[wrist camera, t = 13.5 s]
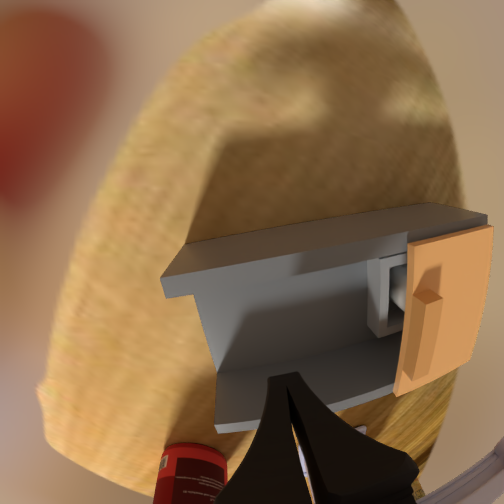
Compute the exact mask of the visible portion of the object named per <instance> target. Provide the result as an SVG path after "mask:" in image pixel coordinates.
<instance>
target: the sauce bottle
mask: <svg viewBox="0 0 504 504" xmlns="http://www.w3.org/2000/svg"><path fill="white" fill-rule="evenodd" d="M411 486H412V488H413V490H414V493H413V494H412V495H413V497H414V499H415V501H416V500H418V499H420V498H422V497H424V496H425V493H424V491H423V490H422V487H421V485H420V483H419V481H418V479H417V477H416V479H415V480H414V482H413V483H412V484H411Z"/></svg>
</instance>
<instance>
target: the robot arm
mask: <svg viewBox="0 0 504 504" xmlns="http://www.w3.org/2000/svg"><path fill="white" fill-rule="evenodd" d="M267 383H268V384H267V395H266V401H265V405H264V410H263V414H262V417H261V420H260V423H259V426H258V429H257V432H256V434H255V437H254V439H253V441H252V444H251V446H250V448H249V450H248V452H247V454H246V455H245V457H244V459H243V461H242V462H241V464H240V466H239V467H238V468H237V470H236V471H235V473H234V474H233V476H232V477H231V479H230V480H229V481H228V483H227V484H226V485H225V486H224V487H223V488H222V490H221V491H220V492H219V493H218V494H217V495H216V497H215V499H214V502H213V504H312V500H311V497H310V493H309V490H308V487H307V483H306V480H305V477H308V481H309V485H310V489H311V493H312V497H313V501H314V504H492V503H493V502H494V501H495V500H496V499H497V498H498V497H500V496H501V495H502V494H503V493H504V437H503V438H502V439H501V440H500V441H499V442H498V443H497V445H496V446H495V447H494V449H493V450H492V451H491V452H490V453H489V454H487V455H486V456H485V457H484V458H482V459H481V460H480V461H478V462H477V463H476V464H474V465H473V466H472V467H470V468H469V469H467V470H466V471H465V472H463V473H462V474H460V475H459V476H457V477H456V478H454V479H453V480H451V481H450V482H448V483H447V484H445V485H443V486H442V487H440V488H438V489H437V490H435V491H433V492H431V493H430V494H428V495H426V496H424V497H422V498H420V499H418V500H416V501H415V499H414V497H413V495H412V494H413V493H414V490H413V488H412V486H411V484H412V483H413V482H414V480H415V479H416V477H417V476H418V474H419V469H418V467H417V465H416V463H415V462H414V461H413V460H412V458H411V457H410V456H409V455H408V454H407V453H406V452H403V451H400V450H397V449H394V448H392V447H389V446H387V445H384V444H382V443H380V442H378V441H376V440H374V439H372V438H370V437H368V436H366V435H365V434H366V429H367V428H366V426H360V427H357V428H353V427H352V426H350V425H349V424H347V423H346V422H345V421H343V420H342V419H341V418H340V417H338V416H337V415H336V414H335V413H334V412H332V411H331V410H330V409H329V408H328V407H327V406H326V405H325V404H324V403H323V402H322V401H321V400H320V399H319V398H318V397H317V396H316V395H315V393H314V392H313V391H312V390H311V389H310V387H309V386H308V385H307V384H306V382H305V381H304V379H303V378H302V376H301V375H300V373H299V372H297V371H296V372H291V373H286V374H281V375H276V376H271V377H269V378H268V379H267ZM291 422H292V423H291ZM292 425H293V428H294V431H295V434H296V437H297V439H298V442H299V445H298V449H299V454H298V451H297V447H296V443H295V439H294V435H293V431H292Z"/></svg>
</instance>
